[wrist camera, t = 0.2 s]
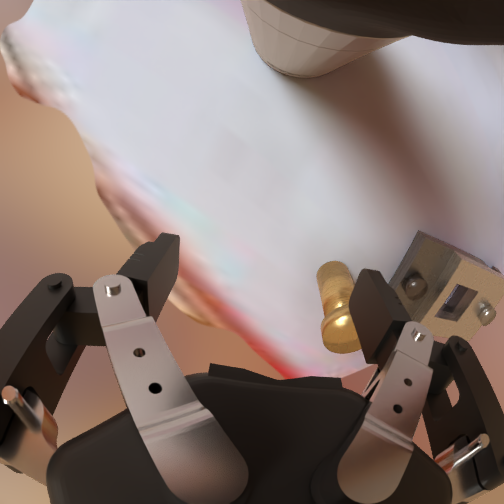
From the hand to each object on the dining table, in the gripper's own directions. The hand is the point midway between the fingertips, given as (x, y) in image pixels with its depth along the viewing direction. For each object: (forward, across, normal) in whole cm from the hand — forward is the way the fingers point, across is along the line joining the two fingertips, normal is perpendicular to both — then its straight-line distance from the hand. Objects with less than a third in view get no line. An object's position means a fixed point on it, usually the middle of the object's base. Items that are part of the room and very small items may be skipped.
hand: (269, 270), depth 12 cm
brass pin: (+18, -10, +10) cm, 23 cm away
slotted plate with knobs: (+18, -28, +9) cm, 34 cm away
